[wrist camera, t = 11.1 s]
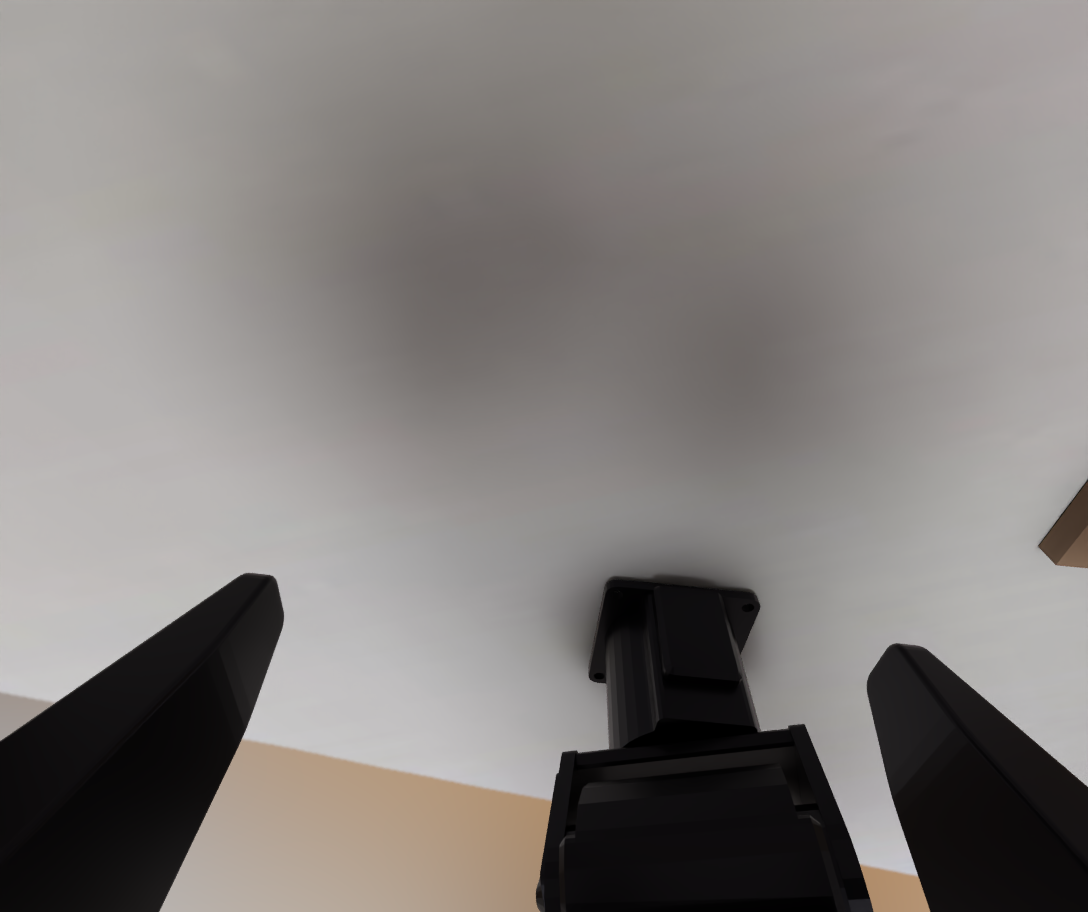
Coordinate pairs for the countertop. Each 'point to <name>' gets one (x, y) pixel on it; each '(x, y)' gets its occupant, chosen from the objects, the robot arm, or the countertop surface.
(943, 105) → the countertop surface
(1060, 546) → the walnut board
